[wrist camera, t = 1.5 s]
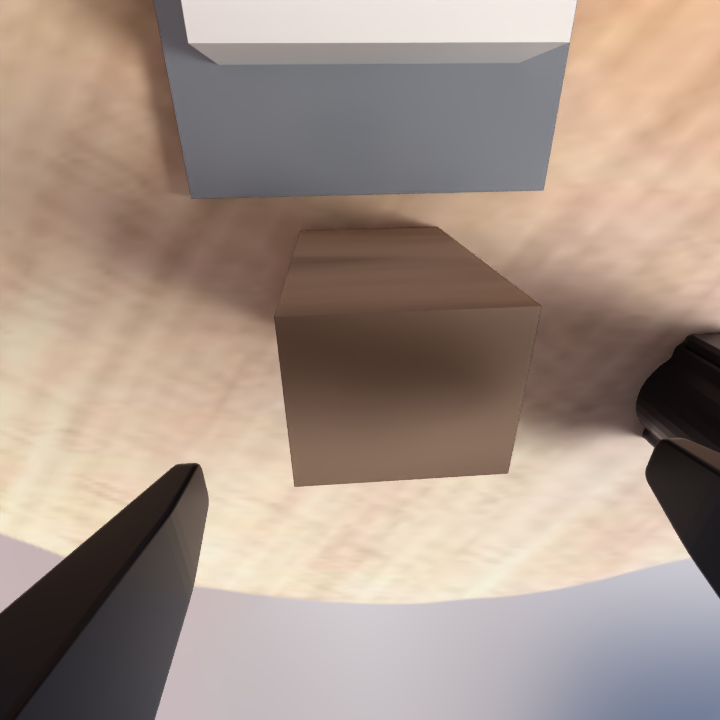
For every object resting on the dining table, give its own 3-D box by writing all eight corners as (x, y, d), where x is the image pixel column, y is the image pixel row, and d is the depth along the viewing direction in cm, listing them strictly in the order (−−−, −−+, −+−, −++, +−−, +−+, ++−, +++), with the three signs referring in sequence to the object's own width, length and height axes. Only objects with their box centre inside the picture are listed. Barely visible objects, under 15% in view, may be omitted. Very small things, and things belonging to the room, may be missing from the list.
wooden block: (430, 331, 21) (507, 473, 12) (308, 336, 20) (294, 486, 11) (437, 226, 18) (541, 306, 9) (300, 230, 18) (274, 316, 9)
